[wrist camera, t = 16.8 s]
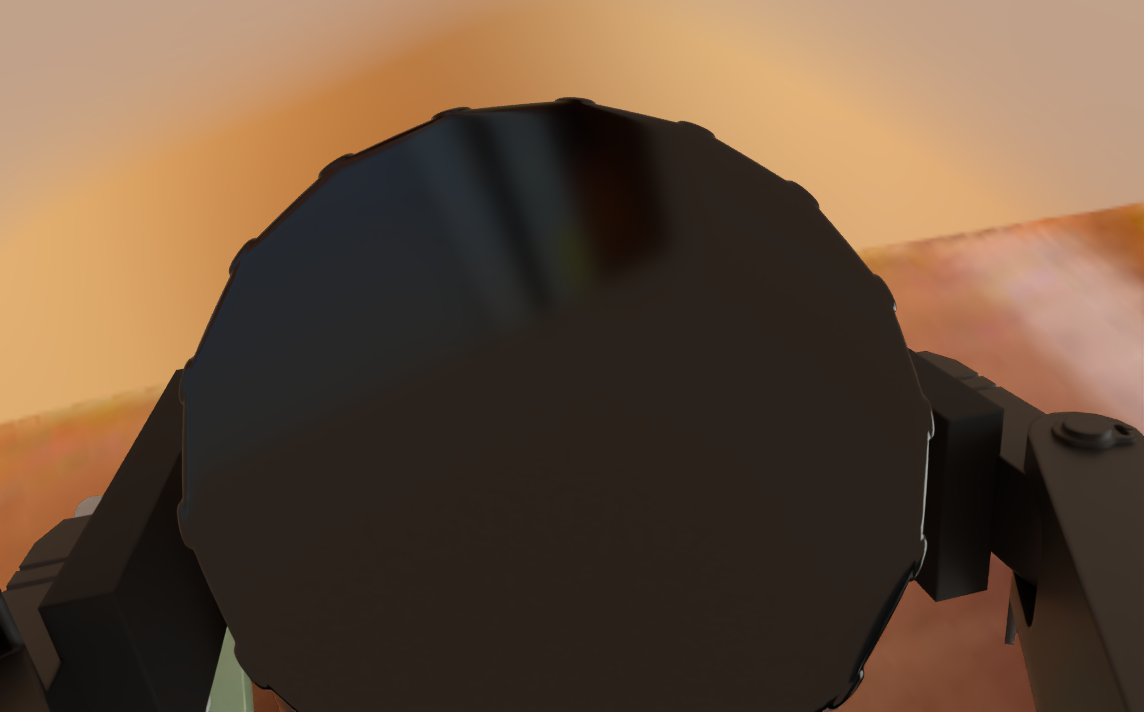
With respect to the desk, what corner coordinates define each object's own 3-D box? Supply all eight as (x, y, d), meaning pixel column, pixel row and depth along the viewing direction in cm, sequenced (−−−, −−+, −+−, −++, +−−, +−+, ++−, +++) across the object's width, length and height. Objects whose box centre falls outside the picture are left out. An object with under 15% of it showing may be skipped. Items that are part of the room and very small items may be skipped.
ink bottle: (727, 391, 21) (963, 18, 10) (787, 798, 17) (1252, 926, 6) (318, 408, 20) (78, 24, 9) (296, 837, 17) (-137, 1061, 6)
